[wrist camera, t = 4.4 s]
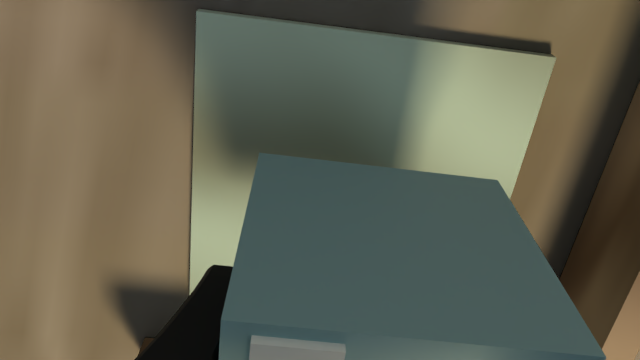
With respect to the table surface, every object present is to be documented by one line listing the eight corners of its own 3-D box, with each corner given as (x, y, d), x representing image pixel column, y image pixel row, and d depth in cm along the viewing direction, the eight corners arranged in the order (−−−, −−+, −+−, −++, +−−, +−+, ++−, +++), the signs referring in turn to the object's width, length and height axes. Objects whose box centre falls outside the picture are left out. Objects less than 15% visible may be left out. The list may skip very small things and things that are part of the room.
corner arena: (540, 396, 20) (574, 473, 17) (145, 359, 19) (117, 434, 17) (736, -53, 13) (842, -38, 10) (133, -139, 12) (82, -147, 10)
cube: (497, 180, 12) (611, 366, 7) (443, 356, 14) (503, 582, 9) (259, 152, 11) (219, 328, 7) (243, 337, 14) (205, 561, 9)
